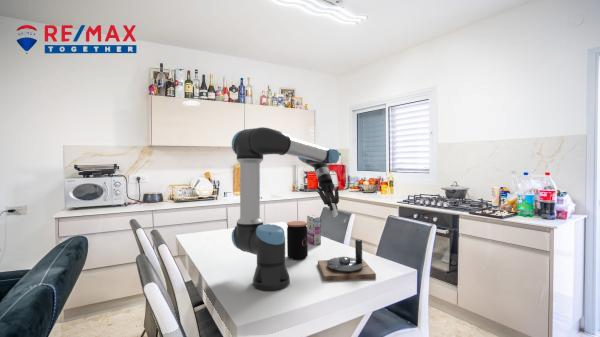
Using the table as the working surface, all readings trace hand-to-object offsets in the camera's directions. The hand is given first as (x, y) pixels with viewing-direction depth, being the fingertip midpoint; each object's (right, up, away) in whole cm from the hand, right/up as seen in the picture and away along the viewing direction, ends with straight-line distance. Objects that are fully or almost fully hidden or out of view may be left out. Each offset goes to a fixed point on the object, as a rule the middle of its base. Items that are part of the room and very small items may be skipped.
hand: (335, 215), depth 147 cm
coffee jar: (-19, -23, +8) cm, 31 cm away
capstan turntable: (+2, -21, -13) cm, 25 cm away
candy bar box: (-9, -23, +36) cm, 44 cm away
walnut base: (+3, -23, -13) cm, 26 cm away
